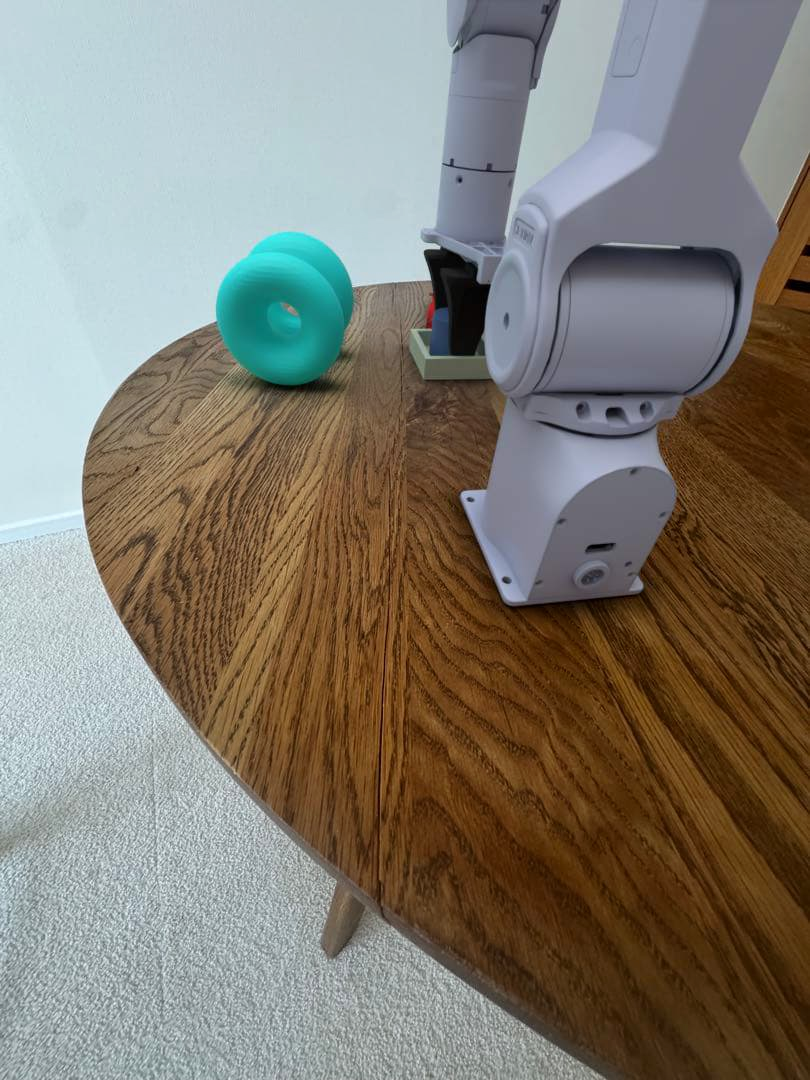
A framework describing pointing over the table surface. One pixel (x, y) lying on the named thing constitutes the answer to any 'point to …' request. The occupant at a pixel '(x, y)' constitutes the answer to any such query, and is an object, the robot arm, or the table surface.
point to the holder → (446, 360)
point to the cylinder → (440, 333)
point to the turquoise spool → (268, 327)
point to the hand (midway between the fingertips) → (454, 344)
